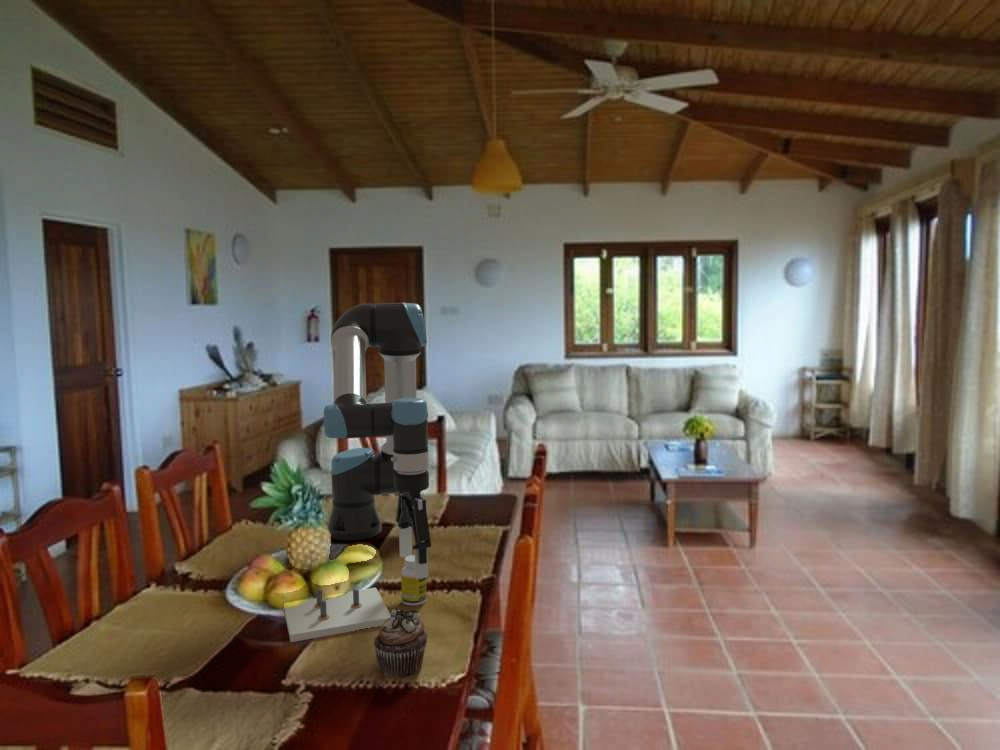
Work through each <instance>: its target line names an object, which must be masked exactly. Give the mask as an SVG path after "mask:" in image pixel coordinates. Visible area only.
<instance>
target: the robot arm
mask: <svg viewBox="0 0 1000 750" xmlns="http://www.w3.org/2000/svg"><path fill="white" fill-rule="evenodd" d="M424 318H425V317H424V315H423V311H422V307H421V306H420V305H419V304H418V303H414V302H413V303H411V302H387V303H386V302H385V303H383V302H381V303H380V302H379V303H368V302H367V303H361V304H357V305H354V306H352V307H351V308H349V309H347V310H346V311H345V312H344V313H342V315H340V317H339V318H338V319H337V321H336V322H335V323H334V325H333V328H332V330H331V334H330V346H331V348H332V350H333V351H334V361H333V362H334V363H333V364H334V366H333V367H334V369H333V371H334V372H333V404H329V405H328V404H327V405H325V406H324V408H323V430H324V435H325V437H326V438H328V439H343V440H345V439H355V438H356V439H357V438H372V437H375V438H378V437H386V438H385V442H384V443H383V444H382V445H381V446H380V452H379V453H374V449H373V448H371V447H357V448H352V449H347V450H344V451H341V452H338V453H337V454H335V455H334V456H333V457H332V459H331V466H330V467H331V470H330V475H331V493H332V494H331V495H332V496H331V497H332V499H331V500H332V508H331V511H330V515H329V518H328V521H327V526H328V529H329V531H330V533H331V537H332V538H331V537H330V538H331V539H333V540H337V541H338V540H339V541H361V540H366V539H370V538H373V537H375V536H378V535H379V534H381V533H382V530H383V529H382V528H383V527H382V520H381V517H380V514H379V512H378V508H377V507H376V504H375V502H376V501H375V500H376V499H375V496H379V495H396V494H398V499H397V501H398V502H397V508H396V519H395V521H396V523H397V526H398V533H399V534H398V538H399V539H398V541H399V542H398V543H399V544H398V545H399V557H400V558H405V557H407V556H410V555H413V550H414V555H415V578H416V579H419V578H425V577H426V578H429V575H430V574H429V548H431V547H432V542H431V535H430V534H431V533H430V529H429V526H430V525H429V519H428V514H427V500H426V499H425V498H424V499H423V497H422V496H421V495H422V494H421V493H422V491H426V490H427V489H428V488H429V486H430V473H429V471H428V469H429V468H430V459H429V457H430V454H429V453H430V452H429V441H428V440H429V439H428V438H429V435H428V434H429V432H428V431H429V429H428V428H429V426H428V425H429V424H428V422H429V421H428V420H429V412H428V405H427V400H426V399H424V398H420V397H417V358H418V357H419V356H420V355H421V354H422V347H426V346H427V344H428V341H427V332H426V331H427V330H426V325H425V319H424ZM368 348H378V352H377V353H378V355H380V357H382V359H383V361H384V362H383V363H384V395H385V396H384V397H385V398H384V400H385V402H378V403H377V402H376V403H374V402H371V403H368V402H367V399H368V398H367V373H366V372H367V371H366V370H367V369H366V351H367V349H368ZM412 534H413V537H412ZM412 538H414V543H415V545H413V539H412Z"/></svg>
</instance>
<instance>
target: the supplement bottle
mask: <svg viewBox="0 0 1000 750" xmlns="http://www.w3.org/2000/svg"><path fill="white" fill-rule="evenodd" d="M403 561H404V563H403V564H404V567H402V569H401V572H400V574H401V575H400V576H401V579H400V580H401V602H402V604H403V605H406V606H413V607H414V606H420V605H422V604H424V603H425V602H427V577H425V578H419V579H416V578H415V554H412V555H410V556H407V557H404V560H403Z"/></svg>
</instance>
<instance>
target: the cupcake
mask: <svg viewBox="0 0 1000 750" xmlns="http://www.w3.org/2000/svg"><path fill="white" fill-rule="evenodd" d="M390 614H391V618H389V619H388V620H386V621H385V622H384V624H383V625H382V626H380V627H379V630H378V634H377V636H376V637H374V641H372V642H373V644H372V645H373V649H374V652H375V656H376V660H377V664H378V665H377V666H378V669H379V672H380V673H381V674H382V675H384V676H386V677H389V678H397V679H398V678H408V677H410V676H413V675H415V674H417V673H418V672H419V671H421V670H422V666H423V660H424V656H425V650H426V648H427V644H428V634H427V633H426V631H425V624H424V622H423V621H422V620H421V614H420V613H419V611H418V610H416V609H405V610H404V609H401V608H398V607H397V608H395V609H392V610H391V612H390Z"/></svg>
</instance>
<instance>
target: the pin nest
mask: <svg viewBox="0 0 1000 750" xmlns="http://www.w3.org/2000/svg"><path fill="white" fill-rule="evenodd" d="M347 592H348V593H347V594H345V595H343V596H340V597H337V598H334V599H328V600H323V599H322V596H323V588H318V589H316V590H315V593H316V595H315V597H317V599H310V600H308V601H307V602H305V603H303V604H300V605H298V606H296V607H291V608H285V613H284V616H285V617H284V618H285V622H286V628H287V632H288V636H289V642H290V643H295V642H299V641H300V642H301V641H306V640H311V639H317V638H324V637H328V636H334V635H339V634H345V633H351V632H356V631H355V630H357V631H360V630H359V629H363V628H368V629H372V628H371V627H374V628H378V626H379V627H381V626H382V625H383V624H384V622H385V621H386V620H388V619H389V618H391V612H390V611H389V609H388V607H387V606H386V604H385V602H384V600H383V598H382V596H381V594H380V593H379V591H378V589H377V587H371V588H365V589H359V588H355V589H353V590H351V591H347ZM363 630H364V629H363ZM350 631H351V632H350Z"/></svg>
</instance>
